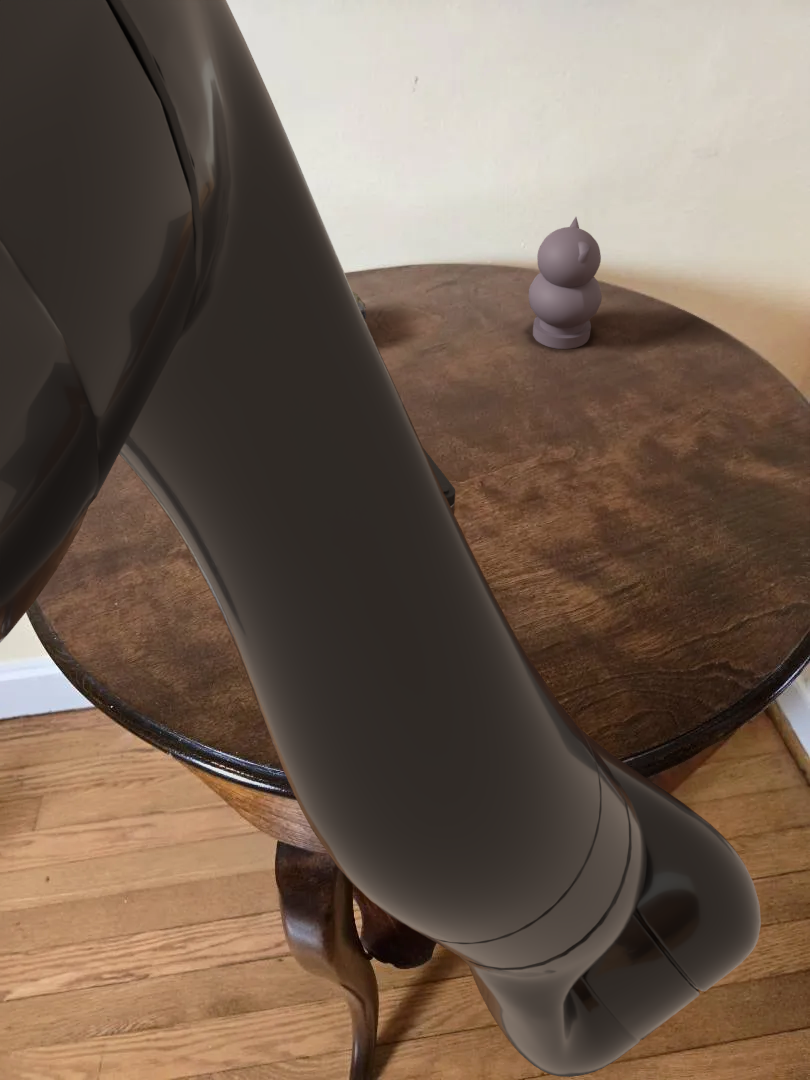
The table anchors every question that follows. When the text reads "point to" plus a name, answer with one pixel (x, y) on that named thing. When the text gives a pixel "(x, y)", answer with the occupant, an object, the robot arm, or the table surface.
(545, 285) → the cat figurine
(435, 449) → the table surface
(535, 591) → the table surface
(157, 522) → the table surface
